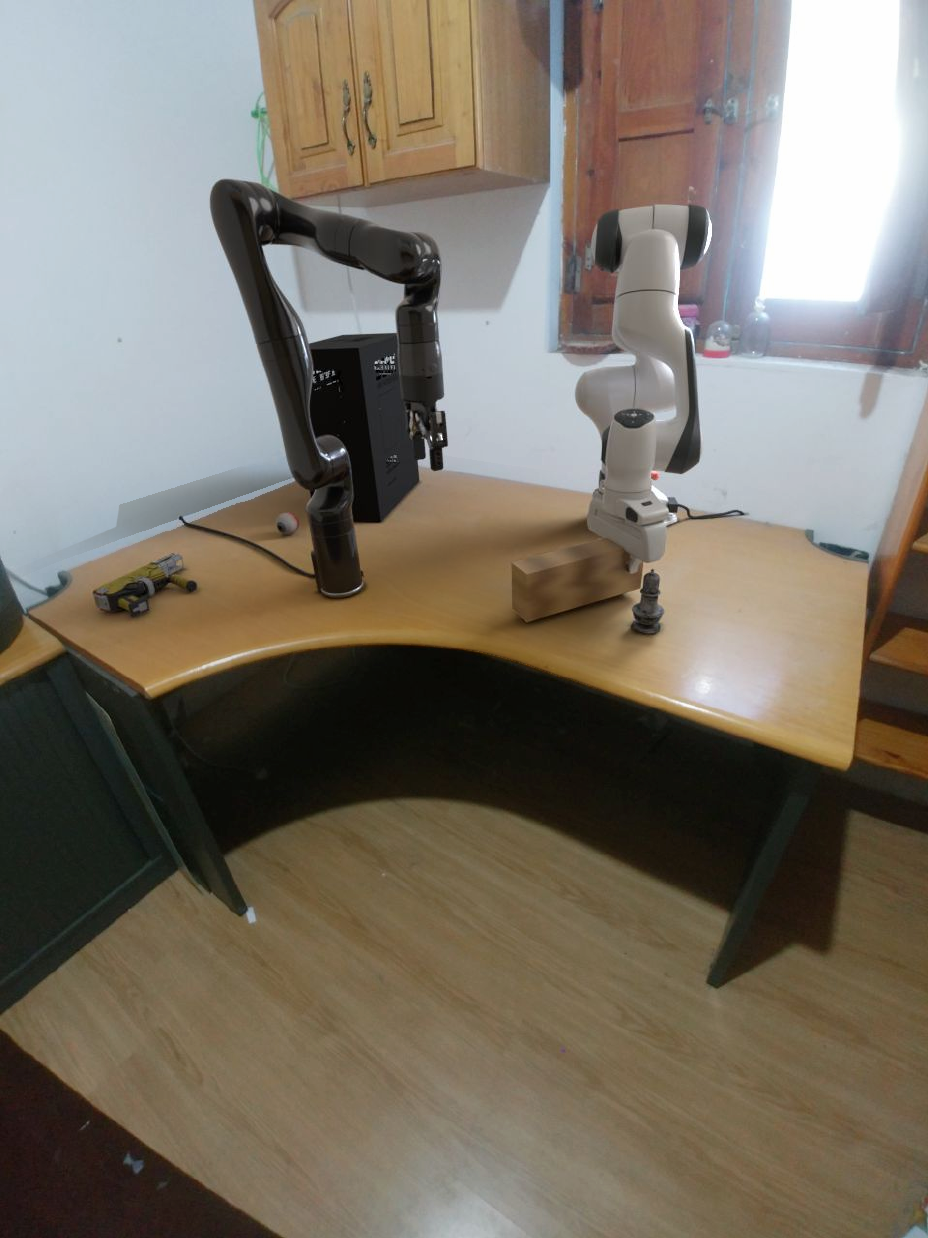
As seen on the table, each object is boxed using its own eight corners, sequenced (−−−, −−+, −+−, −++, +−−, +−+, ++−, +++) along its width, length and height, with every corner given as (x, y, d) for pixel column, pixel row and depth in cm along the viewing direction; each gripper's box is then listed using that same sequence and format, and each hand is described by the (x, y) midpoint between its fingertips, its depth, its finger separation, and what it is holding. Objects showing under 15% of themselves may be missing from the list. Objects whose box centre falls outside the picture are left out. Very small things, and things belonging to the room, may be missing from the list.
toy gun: (221, 561, 143) (169, 550, 147) (142, 604, 123) (85, 590, 127) (223, 579, 146) (173, 568, 149) (147, 624, 125) (91, 610, 129)
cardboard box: (380, 521, 169) (358, 347, 147) (314, 519, 174) (283, 350, 151) (419, 480, 201) (406, 332, 178) (362, 479, 205) (342, 334, 183)
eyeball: (273, 537, 164) (268, 516, 161) (287, 528, 169) (282, 508, 166) (291, 539, 161) (286, 518, 158) (305, 530, 166) (301, 510, 163)
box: (622, 577, 128) (627, 532, 123) (640, 588, 124) (645, 542, 118) (511, 608, 119) (511, 562, 114) (526, 622, 115) (526, 574, 109)
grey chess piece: (663, 635, 111) (671, 576, 105) (630, 633, 112) (636, 575, 106) (661, 619, 116) (668, 562, 110) (629, 617, 117) (635, 561, 111)
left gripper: (386, 368, 107) (396, 459, 115) (414, 377, 96) (423, 477, 104) (425, 363, 110) (432, 452, 118) (457, 372, 98) (462, 470, 107)
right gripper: (581, 487, 122) (578, 549, 129) (647, 520, 106) (639, 589, 113) (607, 481, 124) (602, 543, 131) (675, 513, 108) (666, 581, 115)
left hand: (428, 464), depth 111 cm, fingers open, 8 cm apart
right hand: (620, 564), depth 122 cm, fingers closed on box, 6 cm apart
